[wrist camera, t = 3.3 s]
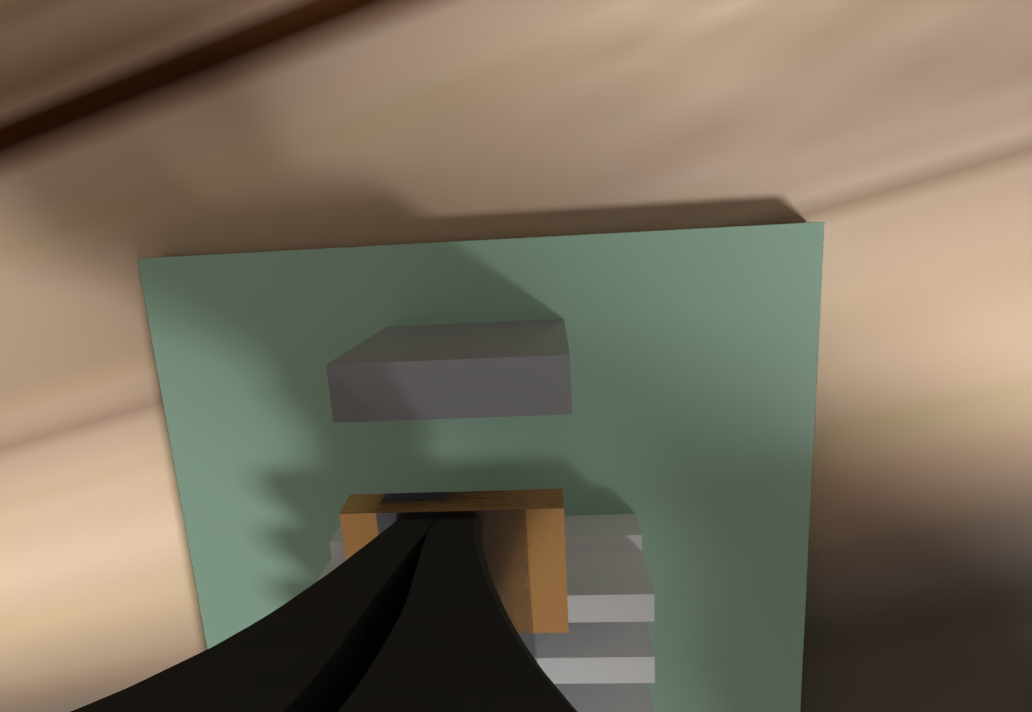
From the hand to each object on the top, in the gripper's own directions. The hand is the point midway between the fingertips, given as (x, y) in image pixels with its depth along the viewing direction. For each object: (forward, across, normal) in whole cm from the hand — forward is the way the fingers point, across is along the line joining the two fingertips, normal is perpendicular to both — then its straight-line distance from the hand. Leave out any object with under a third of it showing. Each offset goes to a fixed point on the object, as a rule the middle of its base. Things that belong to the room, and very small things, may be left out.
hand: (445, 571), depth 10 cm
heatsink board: (+5, 0, +5) cm, 7 cm away
